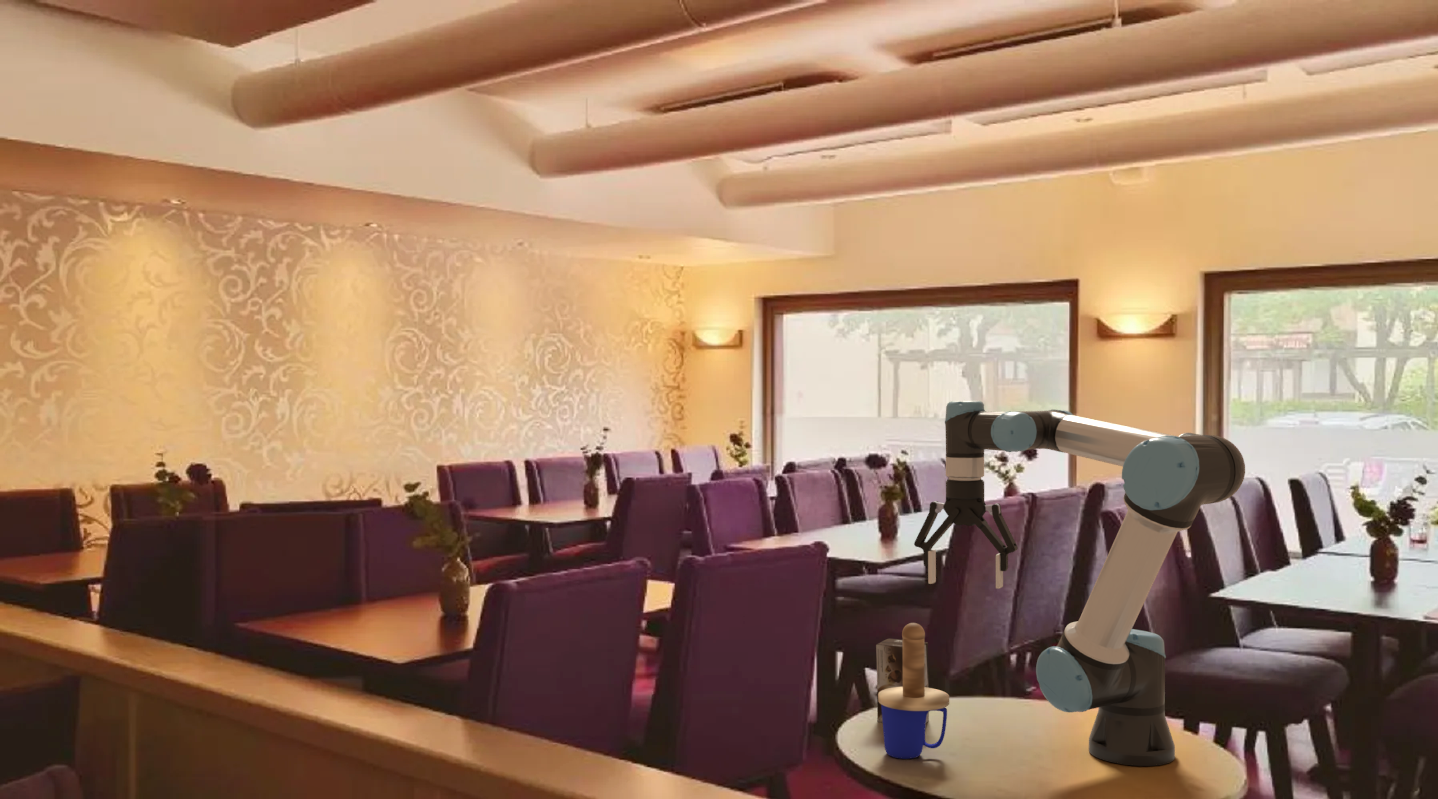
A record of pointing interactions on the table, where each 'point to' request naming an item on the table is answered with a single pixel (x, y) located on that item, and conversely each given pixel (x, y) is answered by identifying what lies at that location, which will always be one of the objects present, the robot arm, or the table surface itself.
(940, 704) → the wooden peg on disc
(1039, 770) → the table surface
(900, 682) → the coffee box
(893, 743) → the mug
